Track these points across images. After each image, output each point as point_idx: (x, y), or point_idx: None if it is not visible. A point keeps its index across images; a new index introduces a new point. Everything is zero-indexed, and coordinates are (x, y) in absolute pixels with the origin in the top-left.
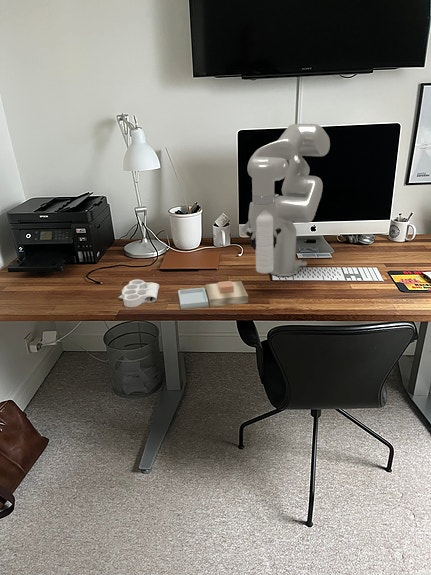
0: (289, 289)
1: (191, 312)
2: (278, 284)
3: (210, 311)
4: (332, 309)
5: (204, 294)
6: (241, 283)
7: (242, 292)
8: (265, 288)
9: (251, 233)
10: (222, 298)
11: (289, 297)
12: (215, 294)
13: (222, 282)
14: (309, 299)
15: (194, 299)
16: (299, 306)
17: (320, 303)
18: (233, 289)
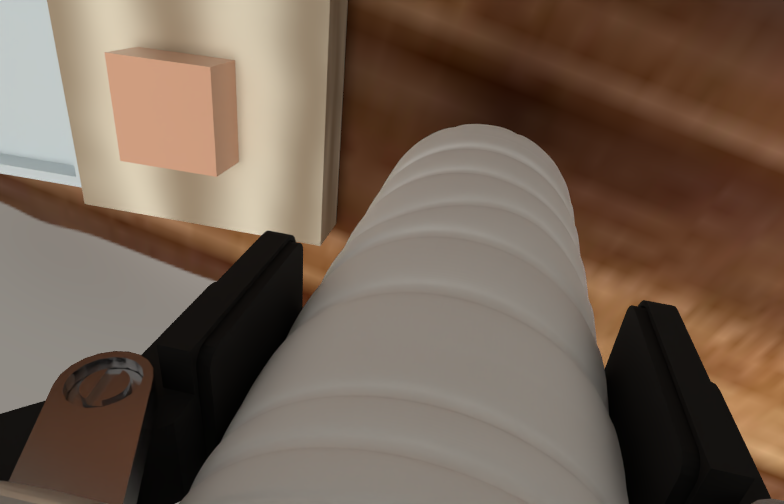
0: (700, 143)
1: (27, 205)
2: (676, 17)
3: (121, 232)
4: (755, 458)
5: (58, 77)
6: (323, 31)
7: (295, 189)
8: (531, 56)
9: (66, 460)
10: (160, 215)
11: (618, 254)
12: (117, 149)
13: (139, 75)
14: (723, 325)
15: (17, 72)
16: (604, 367)
17: (747, 387)
18: (227, 167)
